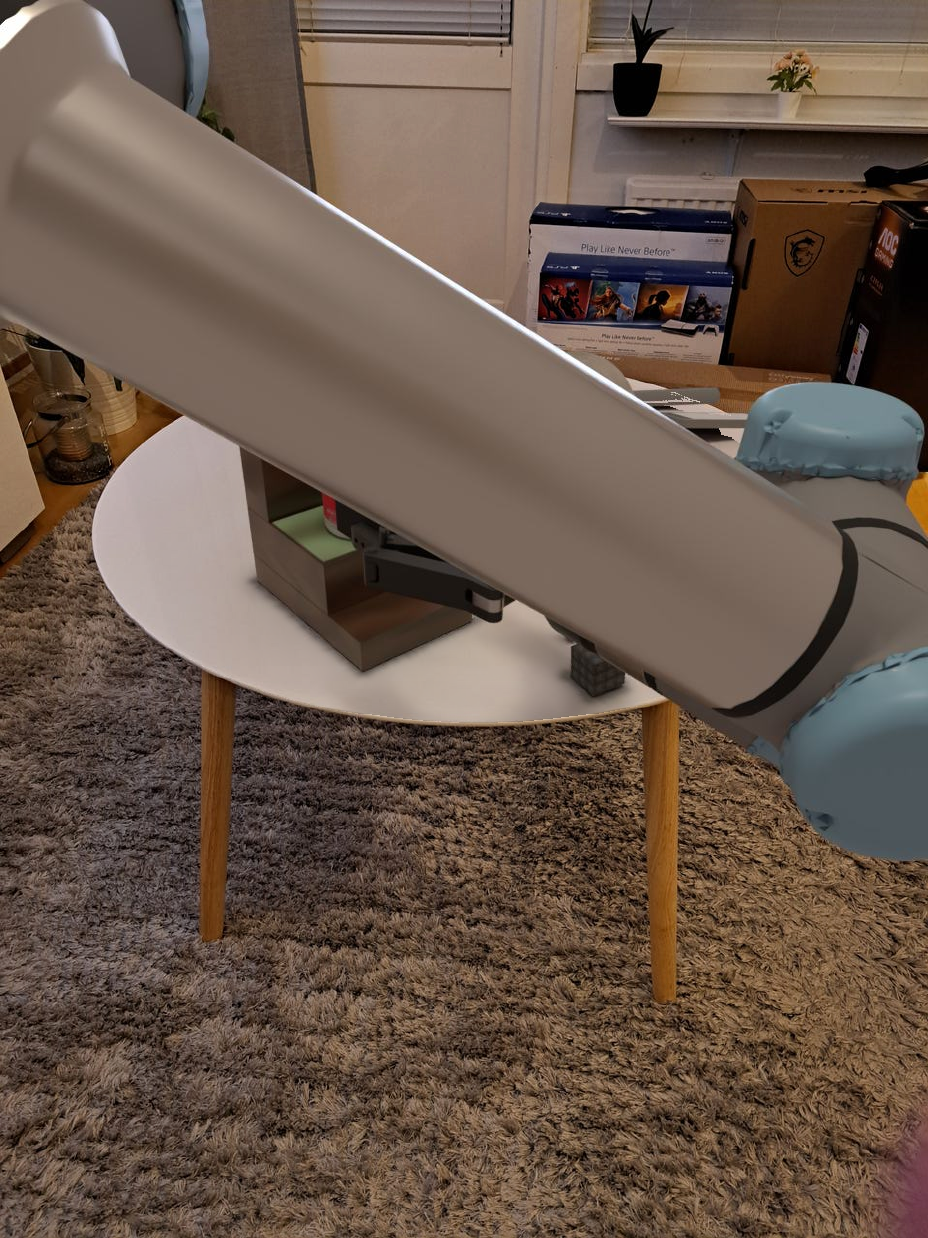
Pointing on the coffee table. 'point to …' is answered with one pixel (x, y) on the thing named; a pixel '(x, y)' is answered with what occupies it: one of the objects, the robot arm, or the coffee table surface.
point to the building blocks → (594, 671)
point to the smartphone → (708, 419)
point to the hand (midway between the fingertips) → (414, 485)
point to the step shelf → (330, 573)
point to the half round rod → (679, 396)
